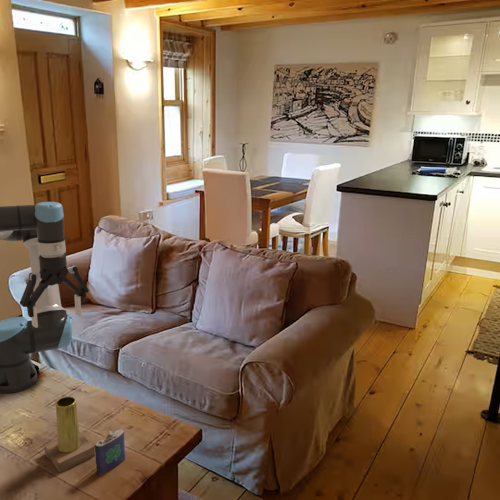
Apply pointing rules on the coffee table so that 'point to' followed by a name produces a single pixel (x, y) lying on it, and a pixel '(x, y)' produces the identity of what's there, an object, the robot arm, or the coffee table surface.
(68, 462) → the plinth
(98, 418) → the coffee table surface
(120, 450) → the flask
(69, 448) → the vase
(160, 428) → the coffee table surface
